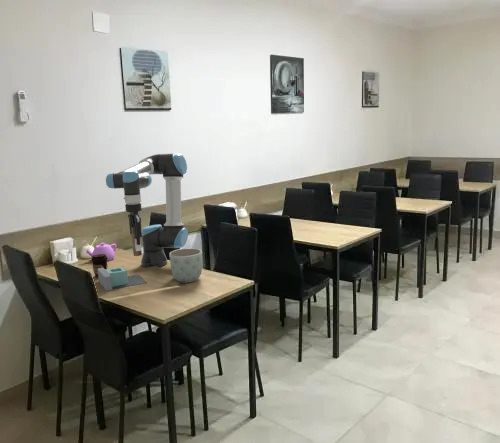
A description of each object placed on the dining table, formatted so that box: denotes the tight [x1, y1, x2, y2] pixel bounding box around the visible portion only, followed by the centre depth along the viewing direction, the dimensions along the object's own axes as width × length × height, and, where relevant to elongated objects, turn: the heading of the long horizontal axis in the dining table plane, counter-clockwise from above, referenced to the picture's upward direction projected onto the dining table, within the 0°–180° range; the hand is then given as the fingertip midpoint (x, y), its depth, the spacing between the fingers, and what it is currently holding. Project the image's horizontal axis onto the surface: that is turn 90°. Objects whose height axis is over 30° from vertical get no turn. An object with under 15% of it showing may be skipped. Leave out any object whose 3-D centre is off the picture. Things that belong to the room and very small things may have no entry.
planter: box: [168, 247, 203, 284], centre depth 253 cm, size 17×17×15 cm
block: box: [105, 266, 129, 287], centre depth 249 cm, size 9×9×7 cm
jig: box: [98, 268, 148, 292], centre depth 251 cm, size 21×18×8 cm
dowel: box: [131, 227, 143, 257], centre depth 238 cm, size 4×4×14 cm
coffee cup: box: [90, 254, 108, 279], centre depth 262 cm, size 9×8×13 cm
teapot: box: [85, 242, 118, 262], centre depth 301 cm, size 14×20×11 cm
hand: (137, 249), depth 239 cm, fingers closed on dowel, 4 cm apart
